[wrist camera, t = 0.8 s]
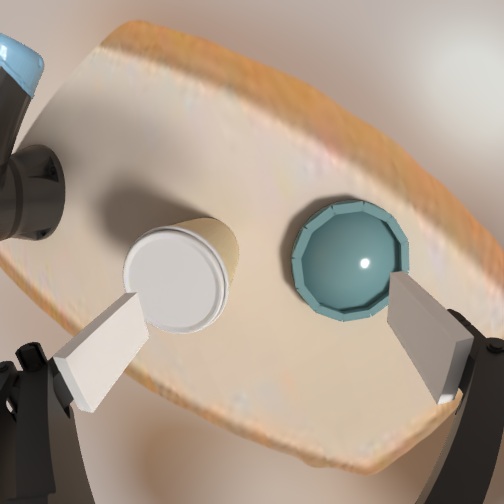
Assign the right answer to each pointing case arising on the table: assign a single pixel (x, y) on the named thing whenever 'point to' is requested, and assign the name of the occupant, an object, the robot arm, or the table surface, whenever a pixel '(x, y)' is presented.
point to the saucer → (348, 259)
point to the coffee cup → (182, 273)
